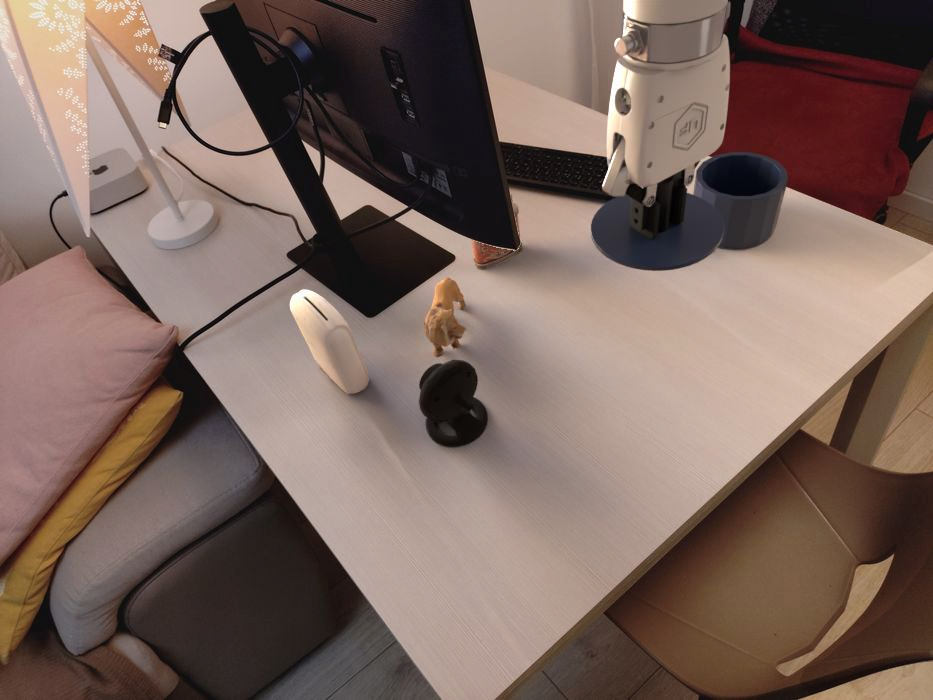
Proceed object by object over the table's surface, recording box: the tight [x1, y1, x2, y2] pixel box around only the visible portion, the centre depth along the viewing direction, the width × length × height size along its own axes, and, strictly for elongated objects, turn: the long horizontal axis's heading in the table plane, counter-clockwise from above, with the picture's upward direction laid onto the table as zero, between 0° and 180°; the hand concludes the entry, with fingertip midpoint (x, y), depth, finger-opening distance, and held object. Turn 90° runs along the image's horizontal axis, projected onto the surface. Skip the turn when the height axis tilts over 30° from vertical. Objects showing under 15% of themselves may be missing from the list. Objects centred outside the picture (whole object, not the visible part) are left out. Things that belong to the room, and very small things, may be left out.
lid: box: [590, 175, 724, 272], centre depth 60 cm, size 13×13×7 cm
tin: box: [692, 151, 789, 250], centre depth 89 cm, size 12×12×8 cm
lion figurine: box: [423, 277, 467, 357], centre depth 83 cm, size 15×5×9 cm, turn 4°
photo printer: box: [289, 289, 371, 395], centre depth 80 cm, size 10×4×12 cm, turn 39°
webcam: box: [418, 359, 489, 448], centre depth 72 cm, size 8×8×10 cm
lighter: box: [471, 194, 523, 271], centre depth 92 cm, size 8×3×10 cm, turn 119°
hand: (656, 223), depth 62 cm, fingers closed on lid, 2 cm apart
